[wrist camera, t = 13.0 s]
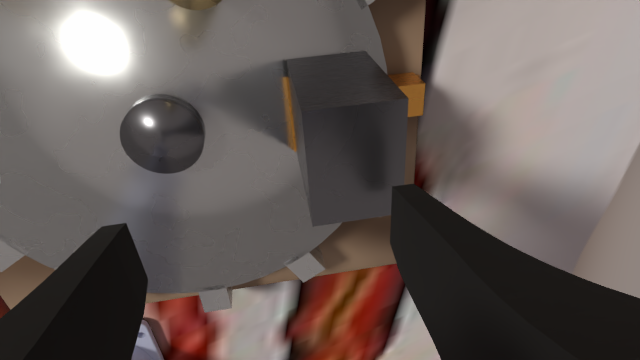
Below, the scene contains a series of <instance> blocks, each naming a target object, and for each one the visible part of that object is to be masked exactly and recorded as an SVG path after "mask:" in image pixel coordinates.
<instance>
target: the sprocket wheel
mask: <svg viewBox="0 0 640 360" xmlns="http://www.w3.org/2000/svg"><path fill="white" fill-rule="evenodd" d="M374 1H375V0H0V272H3V271H4V270H5V269H7V268H8V267H9V266H11V265H12V264H14V263H15V262H16V261H18V260H19V259H20V258H22V257H23V256H25V255H26V256H28V257H30V258H32V259H34V260H35V261H37V262H39V263H41V264H43V265H45V266H48V267H50V268H53V269H55V270H56V269H57V268H58V267H59V266H60V265H61V264H62V263H63V262H64V261H65V260H66V259H68V258H69V257H70V256H71V255H72V254H73V253H74V252H75V251H76V250H77V249H78V248H79V247H80V246H81V245H82V244H83V243H84V242H85V241H86V240H87V239H88V238H90V237H91V236H92V235H93V234H94V233H95V232H96V231H97V230H98V229H100V228H101V227H102V226H108V225H115V224H122V223H127V226H128V229H129V231H130V234H131V236H132V239H133V241H134V244H135V246H136V249H137V252H138V254H139V257H140V259H141V262H142V264H143V267H144V269H145V272H146V274H147V277H148V286H147V293H170V294H175V293H195V292H199V296H200V299H201V302H202V305H203V308H204V311H205V312H210V311H217V310H223V309H229V308H232V286H236V285H240V284H244V283H247V282H250V281H252V280H255V279H258V278H261V277H264V276H266V275H269V274H271V273H273V272H275V271H277V270H280V269H282V268H284V267H286V266H287V267H288V268H289V269H290V270H291V271H292V272H293V273H294V274H295V275H296V276H297V277H298V278H299V279H301V280H302V281H303V282H305V281H307V280H308V279H310V278H312V277H313V276H315V275H317V274H318V273H320V272H322V271H323V270H325V264H324V260H323V255H322V251H321V249H320V248H319V247H318V245H319V244H321V243H322V242H323V241H324V240H325V239H326V238H327V237H328V236H329V235H330V234H332V233H333V232H334V231H335V230H336V229H337V228H338V227H339V226H340V225H341V223H342V222H341V223H335V224H328V225H321V226H314V227H313V226H312V221H311V217H310V212H309V207H308V203H307V198H306V194H305V189H304V184H303V180H302V175H301V171H300V166H299V161H298V157H297V151H296V142H295V133H294V124H293V115H292V106H291V97H290V88H289V79H288V70H287V61H286V59H295V58H304V57H313V56H322V55H331V54H340V53H349V52H358V51H366V52H367V53H368V54H369V55H370V56H371V58H372V59H373V60H374V61H375V62H376V63H377V64H378V65H379V66H380V67H381V69H382V70H383V71H384V72H385V73H386V74H387V66H386V62H385V57H384V53H383V48H382V44H381V39H380V36H379V33H378V30H377V28H376V25H375V22H374V20H373V17H372V14H371V11H370V9H369V7H368V5H369V4H371V3H372V2H374ZM388 76H389V77H390V78H391V80H392V81H393V82H394V83H395V84H396V85H397V86H398V87H399V88H400V89H401V91H402V92H403V93H404V94H405V95H406V96H407V97H408V98H409V100H408V117H413V116H421V115H423V107H424V94H425V83H424V82H423V81H422V80H421V79H420V78H419V77H418V76H417V75H416V74H414V73H413V72H409V73H400V74H391V75H388Z"/></svg>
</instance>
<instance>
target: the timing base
mask: <svg viewBox="0 0 640 360" xmlns="http://www.w3.org/2000/svg"><path fill="white" fill-rule="evenodd" d="M425 6H426V0H375V1H374V2H372V3H371V4H369V5H368V7H369V9H370V11H371V14H372V17H373V20H374V22H375V25H376V28H377V30H378V33H379V36H380V39H381V44H382V48H383V53H384V57H385V62H386V66H387V75H391V74H400V73H409V72H413V73H414V74H416V75H417V76H418V77H419V78H420V79H421V67H422V52H423V37H424V21H425ZM417 129H418V116H413V117H408V120H407V139H406V159H405V179H404V185H407V184H414V175H415V159H416V144H417ZM390 227H391V215H388V216H382V217H375V218H368V219H361V220H355V221H348V222H342V223H341V225H340V226H339V227H338V228H337V229H336V230H335V231H334V232H333V233H332V234H330V235H329V236H328V237H327V238H326V239H325V240H324V241H323V242H322V243H321V244H319V245H318V247H319V248H320V249H321V251H322V255H323V260H324V264H325V270H323V271H322V272H320V273H318V274H317V275H315V276H321V275H327V274H333V273H339V272H346V271H352V270H358V269H364V268H371V267H377V266H383V265H389V264H396V260H395V257H394V254H393V251H392V248H391V245H390ZM54 271H55V269H53V268H50V267H48V266H45V265H43V264H41V263H39V262H37V261H35V260H34V259H32V258H30V257H28V256H26V255H25V256H23V257H22V258H20V259H19V260H18V261H16V262H15V263H14V264H12V265H11V266H9V267H8V268H7V269H5V270H4V271H3V272H0V295H1V297H2V298H3V300H4V301H5V302H6V304H7V305H8V307H9V308H10V310H11V309H12V308H13V307H15V306H16V305H17V304H18V303H19V302H20V301H21V300H23V299H24V298H25V297H26V296H27V295H28V294H29V293H31V292H32V291H33V290H34V289H35V288H36V287H37V286H39V285H40V284H41V283H42V282H43V281H44V280H45V279H46V278H47V277H48V276H49V275H51V274H52V273H53V272H54ZM313 277H314V276H313ZM295 279H299V278H298V277H297V276H296V275H295V274H294V273H293V272H292V271H291V270H290V269H289V268H288V267H287V266H286V267H284V268H282V269H280V270H277V271H275V272H273V273H271V274H269V275H266V276H264V277H261V278H258V279H255V280H252V281H250V282H247V283H244V284H240V285H236V286H232V290H233V289H239V288H245V287H252V286H258V285H264V284H270V283H277V282H283V281H289V280H295ZM195 295H199V292H195V293H175V294H170V293H147V294H146V302H145V303H151V302H158V301H164V300H170V299H176V298H183V297H189V296H195Z"/></svg>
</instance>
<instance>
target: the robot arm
mask: <svg viewBox="0 0 640 360" xmlns="http://www.w3.org/2000/svg"><path fill="white" fill-rule="evenodd" d="M390 245H391V248H392V251H393V254H394V257H395V260H396V263H397V266H398V269H399V271H400V274H401V276H402V278H403V280H404V282H405V285H406V287H407V289H408V291H409V293H410V295H411V297H412V299H413V301H414V303H415V305H416V307H417V309H418V311H419V313H420V315H421V317H422V319H423V321H424V323H425V325H426V327H427V329H428V331H429V333H430V335H431V338H432V340H433V342H434V344H435V346H436V349H437V351H438V353H439V355H440V358H441V360H640V298H637V297H634V296H631V295H628V294H625V293H622V292H619V291H616V290H613V289H610V288H606V287H604V286H601V285H599V284H596V283H593V282H590V281H587V280H585V279H582V278H580V277H577V276H575V275H573V274H570V273H568V272H565V271H563V270H560V269H558V268H555V267H553V266H551V265H549V264H546V263H544V262H542V261H540V260H538V259H536V258H534V257H532V256H530V255H528V254H526V253H523V252H521V251H519V250H517V249H515V248H513V247H512V246H510V245H508V244H506V243H504V242H502V241H501V240H499V239H497V238H495V237H494V236H492V235H490V234H489V233H487V232H485V231H483V230H482V229H480V228H478V227H477V226H475V225H474V224H472V223H470V222H469V221H467V220H466V219H464V218H463V217H461V216H460V215H458V214H457V213H455V212H454V211H452V210H451V209H449V208H448V207H446V206H445V205H444V204H442V203H441V202H439V201H438V200H436V199H435V198H434V197H432V196H431V195H429V194H428V193H426V192H425V191H424V190H422V189H421V188H419V187H418V186H416V185H415V184H407V185H399V186H392V202H391V227H390ZM147 286H148V277H147V274H146V272H145V269H144V267H143V264H142V262H141V259H140V257H139V254H138V252H137V249H136V246H135V244H134V241H133V239H132V236H131V234H130V231H129V229H128V226H127V223H122V224H115V225H108V226H102V227H101V228H100V229H98V230H97V231H96V232H95V233H94V234H93V235H92V236H91V237H90V238H88V239H87V240H86V241H85V242H84V243H83V244H82V245H81V246H80V247H79V248H78V249H77V250H76V251H75V252H74V253H73V254H72V255H71V256H70V257H69V258H68V259H66V260H65V261H64V262H63V263H62V264H61V265H60V266H59V267H58V268H57V269H56V270H55V271H54V272H53V273H52V274H51V275H49V276H48V277H47V278H46V279H45V280H44V281H43V282H42V283H41V284H40V285H39V286H37V287H36V288H35V289H34V290H33V291H32V292H31V293H29V294H28V295H27V296H26V297H25V298H24V299H23V300H21V301H20V302H19V303H18V304H17V305H16V306H15V307H13V308H12V309H11V310H10V311H9V312H8V313H7V314H5V315H4V316H3V317H2V318H0V360H164V358H163V356H162V353H161V351H160V349H159V347H158V344H157V342H156V340H155V338H154V335H153V333H152V331H151V329H150V326H149V324H148V323H147V322H146V321H145V320H142V319H143V315H144V309H145V302H146V294H147ZM141 332H143V333H141Z"/></svg>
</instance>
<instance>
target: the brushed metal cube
mask: <svg viewBox="0 0 640 360" xmlns="http://www.w3.org/2000/svg"><path fill="white" fill-rule="evenodd" d="M286 61H287V70H288V79H289V88H290V97H291V106H292V115H293V124H294V133H295V142H296V151H297V157H298V161H299V166H300V171H301V175H302V180H303V184H304V189H305V194H306V198H307V203H308V207H309V212H310V217H311V221H312V226H313V227H314V226H321V225H328V224H335V223H341V222H348V221H355V220H361V219H368V218H375V217H382V216H388V215H391V202H392V186H399V185H404V179H405V159H406V139H407V120H408V100H409V98H408V97H407V96H406V95H405V94H404V93H403V92H402V91H401V89H400V88H399V87H398V86H397V85H396V84H395V83H394V82H393V81H392V80H391V78H390V77H389V76H388V75H387V74H386V73H385V72H384V71H383V70H382V69H381V67H380V66H379V65H378V64H377V63H376V62H375V61H374V60H373V59H372V58H371V56H370V55H369V54H368V53H367V52H366V51H358V52H349V53H340V54H331V55H322V56H313V57H304V58H295V59H286Z"/></svg>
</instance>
